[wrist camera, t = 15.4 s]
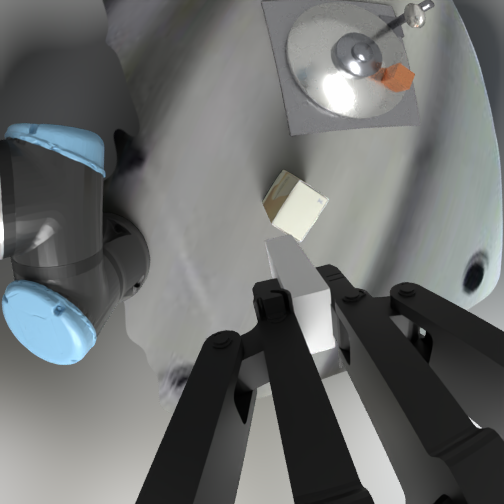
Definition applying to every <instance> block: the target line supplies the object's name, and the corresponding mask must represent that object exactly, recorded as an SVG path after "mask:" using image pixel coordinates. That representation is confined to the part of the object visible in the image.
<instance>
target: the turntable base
mask: <svg viewBox="0 0 504 504" xmlns="http://www.w3.org/2000/svg"><path fill="white" fill-rule="evenodd" d="M331 2H339V3H347V4H352V5H355V6H358V7H361V8H363V9H366V10H368V11H369V12H371V13H373V14H374V15H376V16H377V17H379V15H385V16H392V17H395V14H394V11H393V8H392V6H388V5H381V4H374V3H365V2H355V1H341V0H278V1H264V2H262V3H261V4H262V8H263V12H264V16H265V20H266V24H267V28H268V32H269V36H270V40H271V45H272V49H273V53H274V58H275V62H276V67H277V71H278V76H279V81H280V85H281V90H282V95H283V100H284V105H285V110H286V115H287V121H288V126H289V132H290V136H294V135H302V134H309V133H318V132H327V131H336V130H347V129H359V128H373V127H391V126H420V120H419V113H418V107H417V101H416V96H415V90H414V85H413V81H412V84H411V86H410V89H409V90H406V92H405V94H404V96H403V98H402V99H401V101H400V102H399V103H398V104H397V105H396V106H395V107H394V108H393V109H391V110H390V111H388V112H386V113H385V114H382V115H379V116H376V117H371V118H361V119H356V118H348V117H343V116H340V115H337V114H334V113H332V112H330V111H328V110H326V109H324V108H323V107H321V106H319V105H318V104H317V103H315V102H314V101H313V100H312V99H311V98H310V97H308V96H307V95H306V94H305V92H304V91H303V90H302V89H301V88H300V86H299V85H298V83H297V82H296V80H295V79H294V77H293V75H292V73H291V70H290V67H289V65H288V60H287V54H286V45H287V39H288V35H289V32H290V30H291V28H292V26H293V24H294V23H295V21H296V20H297V18H298V17H299V16H300V15H301V14H302V13H304V12H305V11H306V10H308V9H310V8H312V7H314V6H316V5H319V4H324V3H331ZM379 18H380V17H379ZM397 37H398V39H399V40H400V42H401V44H402V46H403V48H404V50H405V47H404V44H403V40H402V37H401V36H397ZM405 53H406V51H405ZM406 56H407V55H406ZM407 60H408V59H407ZM408 65H409V63H408ZM409 70H410V67H409Z"/></svg>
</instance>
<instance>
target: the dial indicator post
mask: <svg viewBox="0 0 504 504" xmlns="http://www.w3.org/2000/svg"><path fill="white" fill-rule="evenodd" d="M432 7H434V3H433V2H432V1H431V0H425V1H423V2H421V3H420V4H418V5H417V4H413V3H409V4H408V5H407V6H406V7H405V10H404V13H403V14H402V15H400V16H399V17H392V16H385V15H379V17H380V19H381V20H383V21H384V22H385V23H386V24H387V25H388V26H389V27H390V28H391V29H392V30H393V32H394V33H395V34H396V36H401V37H404V34H403V30H402V27H401V25H402V24H403V23H405V22H407V24H408V25H409V26H411V27H414V28H421V27H423V26H424V24H425V19H426V17H425V11H427V10H429V9H430V8H432Z"/></svg>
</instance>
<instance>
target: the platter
mask: <svg viewBox="0 0 504 504" xmlns="http://www.w3.org/2000/svg"><path fill="white" fill-rule="evenodd" d="M352 32H357V33H361V34H364V35H366V36H368V37H369V38H371V39H372V40H373V41H374V42H375V43H376V44H377V45H378V47H379V49H380V51H381V54H382V65H381V68H380V69H379V71H378V72H376V73H375V74H373V75H371V76H368V77H366V78H364V79H359V80H356V79H351V78H348V77H346V76H344V75H342V74H341V73H340V72H339V71H338V70H337V69H336V68H335V66H334V64H333V62H332V59H331V49H332V47H333V45H334V44H335V43H336V42H337V41H338V40H339V39H340V38H341V37H342V36H344V35H345V34H347V33H352ZM286 54H287V60H288V65H289V67H290V70H291V73H292V75H293V77H294V79H295V80H296V82H297V83H298V85H299V86H300V88H301V89H302V90H303V91H304V92H305V94H306V95H307V96H308V97H310V98H311V99H312V100H313V101H314V102H315V103H317V104H318V105H319V106H321V107H323V108H324V109H326V110H328V111H330V112H332V113H334V114H337V115H340V116H343V117H348V118H356V119H361V118H371V117H376V116H379V115H382V114H385V113H386V112H388V111H390V110H391V109H393V108H394V107H395V106H396V105H397V104H398V103H399V102H400V101H401V99H402V98H403V96H404V94H405V92H406V90H409V89H410V86H411V84H412V81H413V78H414V76H415V74H414V73H413V72H411V71H410V70H409V65H408V60H407V56H406V53H405V50H404V48H403V46H402V44H401V42H400V40H399V39H398V37H397V36H396V34H395V33H394V32H393V30H392V29H391V28H390V27H389V26H388V25H387V24H386V23H385V22H384V21H383V20H381V19H380V18H379V17H377V16H376V15H374V14H373V13H371V12H369V11H368V10H366V9H363V8H361V7H358V6H355V5H352V4H347V3H339V2H331V3H324V4H319V5H316V6H314V7H312V8H310V9H308V10H306V11H305V12H304V13H302V14H301V15H300V16H299V17H298V18H297V20H296V21H295V23H294V24H293V26H292V28H291V30H290V32H289V35H288V39H287V45H286Z"/></svg>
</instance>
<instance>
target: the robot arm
mask: <svg viewBox="0 0 504 504" xmlns="http://www.w3.org/2000/svg"><path fill="white" fill-rule="evenodd" d="M5 138H6V140H0V259H4V258H7V257H11V262H12V269H13V275H14V281H13V282H11V283H10V284H9V285H8V286H7V288H6V291H5V294H4V296H3V299H2V309H3V313H4V317H5V320H6V322H7V324H8V326H9V328H10V329H11V331H12V332H13V334H14V335H15V337H16V338H17V339H18V340H19V341H20V342H21V343H22V344H23V345H24V346H25V347H26V348H27V349H28V350H29V351H31V352H32V353H33V354H35V355H36V356H38V357H40V358H42V359H44V360H46V361H48V362H51V363H55V364H61V365H69V364H74V363H76V362H78V361H80V360H81V359H82V358H83V357H84V356H85V355H86V354H87V352H88V351H89V350H90V348H92V347H93V346H94V344H95V342H96V339H97V337H98V335H99V333H100V331H101V330H102V328H103V327H104V325H105V323H106V322H107V320H108V318H109V317H110V315H111V313H112V312H113V310H114V309H115V307H116V305H117V304H119V303H121V302H123V301H125V300H127V299H129V298H131V297H132V296H133V295H135V294H136V293H137V292H138V291H139V289H140V288H141V286H142V285H143V283H144V281H145V280H146V278H147V275H148V272H149V266H150V257H149V251H148V247H147V244H146V242H145V240H144V238H143V236H142V235H141V233H140V232H139V230H138V229H137V228H136V227H135V226H134V225H133V224H132V223H131V222H129V221H128V220H127V219H125V218H123V217H121V216H119V215H116V214H113V213H103V179H104V177H105V171H104V143H103V141H102V139H101V138H100V136H99V135H97V134H96V133H94V132H91V131H88V130H85V129H80V128H75V127H69V126H62V125H53V124H39V125H38V124H29V123H20V124H14V125H11V126H10V127H9V128H8V130H7V132H6V133H5ZM265 245H266V250H267V254H268V259H269V264H270V269H271V274H272V278H273V279H270V280H266V281H262V282H257V283H255V285H254V287H253V289H252V290H253V295H254V300H253V304H254V308H255V312H256V316H257V320H258V323H257V325H256V326H255V327H254V328H253V329H252V330H251V331H249V332H247V333H246V334H243V335H241V336H240V335H239V334H238V333H237V332H235V331H228V330H225V331H220V332H217V333H215V334H212V335H211V336H210V337H208V338H207V339H206V341H205V342H204V344H203V346H202V348H201V351H200V353H199V355H198V358H197V360H196V362H195V365H194V367H193V369H192V371H191V374H190V376H189V378H188V381H187V383H186V385H185V388H184V390H183V392H182V395H181V397H180V399H179V402H178V404H177V406H176V409H175V411H174V413H173V416H172V418H171V420H170V423H169V425H168V427H167V430H166V432H165V434H164V437H163V439H162V441H161V444H160V446H159V448H158V451H157V453H156V455H155V458H154V461H153V463H152V465H151V468H150V470H149V473H148V474H147V477H146V479H145V482H144V484H143V487H142V489H141V491H140V493H139V496H138V498H137V501H136V503H135V504H234V503H235V498H236V493H237V489H238V485H239V480H240V475H241V471H242V466H243V461H244V456H245V451H246V446H247V441H248V436H249V431H250V426H251V421H252V415H253V411H254V406H255V400H256V395H257V388H258V387H260V386H262V385H264V384H266V383H268V382H270V385H271V390H272V395H273V400H274V405H275V410H276V415H277V420H278V425H279V430H280V435H281V440H282V445H283V450H284V455H285V460H286V464H287V469H288V473H289V479H290V483H291V488H292V493H293V498H294V503H295V504H374V501H373V499H372V497H371V495H370V493H369V491H368V490H367V489H366V488H364V487H363V486H362V484H361V482H360V480H359V477H358V474H357V472H356V469H355V466H354V464H353V461H352V458H351V456H350V453H349V450H348V448H347V445H346V442H345V440H344V437H343V435H342V432H341V429H340V427H339V424H338V422H337V419H336V417H335V414H334V411H333V409H332V406H331V404H330V401H329V399H328V396H327V393H326V391H325V388H324V386H323V383H322V381H321V378H320V376H319V373H318V370H317V368H316V365H315V363H314V360H313V358H312V355H311V354H313V353H317V352H320V351H324V350H328V349H331V348H334V347H335V341H334V338H335V339H336V341H337V343H338V353H339V367H340V369H341V368H342V363H343V364H344V366H345V368H346V370H347V372H348V374H349V376H350V378H351V380H352V382H353V384H354V386H355V388H356V390H357V392H358V394H359V396H360V399H361V401H362V403H363V405H364V407H365V409H366V411H367V413H368V415H369V417H370V419H371V421H372V424H373V425H374V427H375V430H376V432H377V434H378V436H379V438H380V440H381V442H382V445H383V447H384V449H385V451H386V453H387V456H388V457H389V460H390V462H391V464H392V466H393V469H394V471H395V473H396V475H397V477H398V480H399V482H400V484H401V486H402V489H403V491H404V494H405V498H406V504H504V332H503V331H502V330H500V329H498V328H496V327H495V326H493V325H491V324H490V323H488V322H486V321H484V320H483V319H481V318H479V317H477V316H476V315H474V314H472V313H470V312H468V311H466V310H465V309H463V308H461V307H459V306H457V305H456V304H454V303H452V302H450V301H448V300H446V299H444V298H442V297H441V296H439V295H437V294H435V293H433V292H431V291H429V290H427V289H425V288H424V287H422V286H420V285H417V284H415V283H409V282H404V283H400V284H397V285H395V286H393V287H392V288H391V290H390V296H388V297H375V298H373V297H372V296H371V295H370V294H369V293H368V292H367V291H365V290H363V289H359V288H354V287H353V285H352V284H351V283H350V282H349V281H348V280H347V278H346V277H345V276H344V275H343V274H342V273H341V271H340V270H339V269H338V268H337V267H335V266H332V265H330V264H328V265H324V266H320V267H316V268H315V267H314V265H313V264H312V262H311V261H310V260H309V258H308V257H307V255H306V254H305V253H304V251H303V250H302V248H301V247H300V246H299V244H298V243H297V241H296V240H295V239H294V237H293V236H292V235H291V234H290V235H285V236H281V237H277V238H272V239H268V240H265ZM420 327H421V328H423V329H424V330H426V335H425V336H424V335H422V334H420ZM469 417H470V418H471V419H472V420H473V421H474V422H476V423H477V424H478V425H479V426H480V427H482V428H481V429H479V428H477V427H476V426H475V425H474V424H473V423H472V422H471V420H470V419H469Z"/></svg>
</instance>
